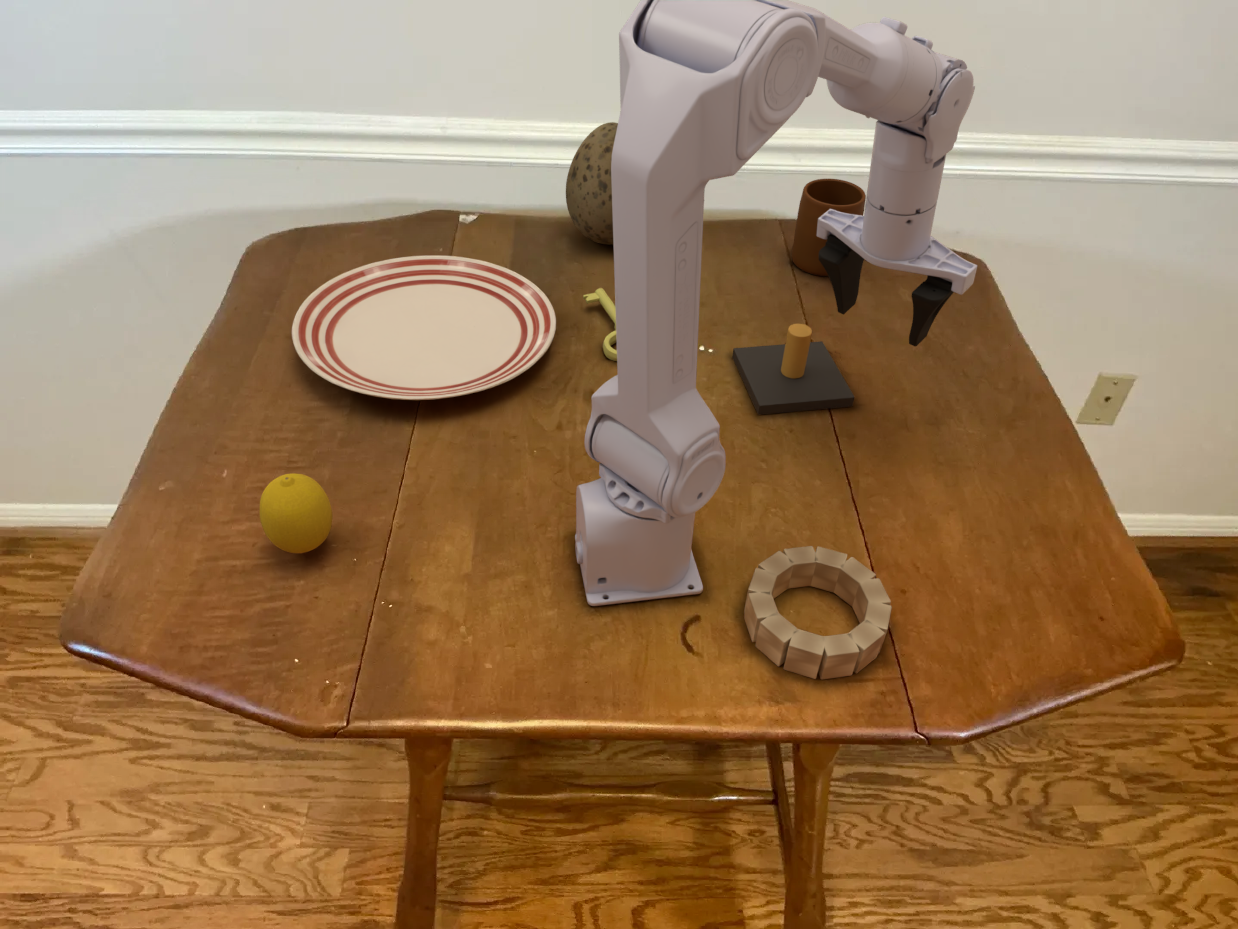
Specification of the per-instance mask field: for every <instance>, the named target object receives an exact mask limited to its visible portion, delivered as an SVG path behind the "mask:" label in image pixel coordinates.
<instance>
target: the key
mask: <svg viewBox="0 0 1238 929" xmlns="http://www.w3.org/2000/svg"><path fill="white" fill-rule="evenodd" d="M582 296H583V297H582V299H583V300H585V303H586V305H587V304H592V303H593V304H594V303H597V302H598V303H600V305H601V307H602V308H603V309H604V310H605V312H606V314H607V315H608V316H609V318H610V319H611V320H612V322H613V323H614V330H613V331H611V332H610V333H608V334H607V335H606V336H605V338H604V340H603V343H602V350H603V351H602V352H603V354H604V355H605V357H606V358H607V359H609V360H610V361H613V362H617V349H615V348H613V347H612V345H614V344H617V339H616V307H615V302H613V300H612V298H610V296H609V295H608V294H607V292H606V291H605V289H604V288H602V287H599V288H597V289H596V290H595V291H594V292H591V293H587V294H583V295H582Z"/></svg>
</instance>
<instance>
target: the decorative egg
mask: <svg viewBox="0 0 1238 929" xmlns="http://www.w3.org/2000/svg"><path fill="white" fill-rule="evenodd" d="M617 126H618V122H615V121H611V122H605V123H603V124H600V125H599V126H597V127H596V128H594V130H592V131H591V132H590V133H589V134H588V135H586V137H585V138H584V140H582V142H581V143H580V145H579V146H578V148H577V150H576V152H575V154H574V156H573V158H572V161H571V163H570V166H569V169H568V172H567V177H566V181H565V202H566V207H567V211H568V214H569V217H570V218H571V222H573V224H574V226H575V227H576V229H577V230H578V231H579V232H580V233H581V234H582V235H583V236H585V237H586V238H587V239H588V240H591V241H592V242H594V243H597V244H603V245H614V244H613V212H612V181H611V161H612V151H613V145H614V141H615V136H616V131H617Z"/></svg>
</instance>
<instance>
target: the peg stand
mask: <svg viewBox="0 0 1238 929" xmlns="http://www.w3.org/2000/svg"><path fill="white" fill-rule="evenodd" d="M812 334H813V330H812V328H811V327H810V326H809V325H807V324H804V323H793V324H791V325H789V326H788V328H787V333H786V339H785V343H784V344H771V345H770V344H769V345H758V346H745V347H744V346H743V347H733V349H732V355H731V356H732V360H733V362H734V364H735V367H736V369H737V371H738V373H739V375H740V378H741V380H742V382H743V385H744V386H745V389H746V391H747V393H748V396H749V398H750V401H751V403H752V405H753V406H754V409H755V411H756V412H757V415H759V416H760V415H771V414H784V413H793V412H804V411H815V410H817V411H818V410H826V409H827V410H828V409H838V408H839V409H840V408H851V407H853V406H854V402H855V399H856V397H855V395H854V393H853V391H852V390H851V388H850V387H849V385H848V383H847V382H846V380H845V378H844V376H843V375H842V373H841V371H840V369H839V368H838V366H837V364H836V363H835V361H834V359H833V357H832V356H831V354H830V351H828V349H827V347H826V345H825V343H824V341H822V340H820V341H812V337H813V336H812Z"/></svg>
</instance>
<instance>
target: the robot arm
mask: <svg viewBox="0 0 1238 929" xmlns="http://www.w3.org/2000/svg"><path fill="white" fill-rule="evenodd" d="M907 31H908V25H907V23H904V22H903V21H901V20H897V19H894V18H891V17H887V16H882V17H881V19H880V21H879V22H876V21H875V22H874V21H872V22H871V21H870V22H864V23H861V24H858V25H856V26H854V27H852V28H849V27H847V26H845V25H843V23H840V22H838V21H837V20H835V19H834V18H832V17H830V16H828V15H827V14H825V13H824V12H822V11H820V10H818V9H817V8H815V7H812V6H809V5H806V4H802V3H798V2H795V1H792V0H640V1H639V2H638V3H637V5H636V6H635V8H634V10H633V11H632V12H631V14H630V16H629V17H628V19H627V20H626V22H625V23H624V25H623V26H622V27H621V29H620V30H619V33H618V52H619V54H618V56H619V58H618V59H619V60H618V61H619V94H620V96H619V98H620V99H619V100H620V111H619V116H618V121H617V123H618V126H617V131H616V136H615V141H614V145H613V151H612V161H611V181H612V212H613V244H612V245H613V270H614V271H613V272H614V305H615V307H616V339H617V342H616V350H617V361H616V365H617V366H616V368H617V370H616V371H617V374H616V375H614V376H612V377H611V378H609V379H608V380H607V381H605V382H604V383H603V384H601V386H600V387H598V388H597V390H596V391H594V393H593V394H592V395H591V413H590V417H589V419H588V422H587V425H586V428H585V433H584V439H583V440H584V449H585V453H586V454H587V455H588V456H589V458H590V459H592V460H593V461H595V462H597V463H598V464H599V465H598V476H599V478H597V479H595V480H592V481H589V482H585V483H582V484H578V485H576V490H575V491H576V493H575V535H574V540H575V544H574V546H575V556H576V558H575V559H576V562H577V564H578V565H580V572H581V576H582V581H583V587H584V591H585V596H586V602H587V604H588V605H589V606H592V607H598V606H606V605H607V606H608V605H615V604H622V603H632V602H640V601H648V600H649V601H650V600H658V599H666V598H676V597H683V596H691V595H699V594H702V592H704V585H703V582H702V579H701V575H700V572H699V569H698V566H697V562H696V560H695V557H694V553H693V549H692V546H693V545H692V544H693V536H694V528H695V520H696V512H698V511H700V509H702V508H703V507H705V505H706V504H707V503H709V501H710V500H711V499H712V498H713V496H714V495H715V494H716V492H717V491H718V489H719V487H720V485H721V483H722V482H723V479H724V476H725V473H726V466H727V465H726V460H727V457H726V456H727V455H726V450H725V448H724V447H723V445H722V443H721V440H720V429H721V425H720V423H719V421H718V420H717V418H716V417H715V415H714V413H713V412H712V410H711V409H710V407H709V406H708V405H707V403H706V402H705V400H704V398H703V396H702V395H701V394H700V393H699V391H698V389H697V371H698V370H697V369H698V366H697V365H698V348H699V323H700V301H701V300H700V299H701V280H702V256H703V255H702V254H703V237H704V236H703V233H704V214H705V213H704V211H705V210H704V209H705V189H706V186H707V184H708V183H709V181H712V180H717V179H722V178H727V177H733V176H735V175H736V174H737V173H738V172H739V171H740V170H741V169H742V168H743V167H744V166H745V165H746V164H747V163H748V162H749V160H750V159H751V158H752V157H753V156H755V154H757V153H758V151H760V149H761V148H762V147H763V146H764V145H765V144H766V143H767V142H768V141H769V140H770V139H771V138H772V137H773V136H774V135H775V134H776V133H777V132H778V131H779V130H780V129H781V128H782V127H783V126H784V125H785V124H786V123H787V122H788V121H789V119H790V118H791V117H792V116H794V114H795V113H796V112H797V111H798V109H800V107H801V105H802V104H803V103H804V101H805V99H806V98H808V97H810V96H811V95H812V94H813V92H814V89H815V86H816V85H817V81H818V78H821V79H823V80H826V85H827V89H828V92H829V94H830V96H831V98H832V99H833V100H834V102H835V103H836V104H837V105H839V106H840V107H841V108H843V109H846V110H848V111H849V112H854V113H857V114H859V115H862V116H865V118H867V119H873V120H877V121H875V128H874V135H873V142H872V151H871V158H870V166H869V175H868V182H867V190H866V200H865V207H864V214H863V216H861V215H854V214H848V213H843V212H839V211H836V210H833V209H829V210H828V211H827V212H826V213H824V214H823V215H822V216H821V217H819V218H818V224H817V237H820V238H822V239H827V242H826V244H825V246H824V247H823V248H822V249H821V250H820V251H819V261H820V262H821V264H822V265H823V267H824V268H825V270H826V272H827V274H828V276H827V277H828V278H829V281H830V284H831V287H832V290H833V294H834V298H835V303H836V308H837V313H839V314H841V315H845V314H846V313H847V312H848V311H850V309H852V308H853V307H854V306H855V305H856V304H857V300H858V296H859V290H860V281H861V273H862V270H863V269H862V268H863V265H864V261H866V262H867V263H869V264H871V265H873V266H876V267H878V268H881V269H882V268H883V269H887V270H893V271H898V272H899V271H900V272H905V273H912V274H918V275H923V276H926V279H925V280H923V281H922V282H921V283H920V284H919V285H918V286H917V287H916V288H915V289H914V290H913V291H912V292H911V302H912V322H911V326H910V330H909V336H908V344H909V345H911V346H913V347H918V346H919V345H920V344H921V342H923V341H924V339H926V338H927V337H928V334H929V332H930V329H931V327H932V325H933V323H934V321H935V319H936V317H937V316H938V314H939V312H940V311H941V309H942V308H943V307H944V305H945V304H946V303H947V301H948V300H949V299H950V298H951V296H952V295H953V294H954V293H956V294H958V295H959V296H960V295H961V296H962V295H964V294H965V293H966V292H967V291H968V290H969V289H970V287H972V286H973V285H974V282H975V278H976V275H977V274H976V273H977V270H978V264H975V263H974V262H970V261H969V260H966V259H964V258H963V257H961V256H960V255H958V254H957V253H955V252H954V251H953V250H952V249H950V248H949V247H947V246H946V245H945V244H943V243H942V242H941V241H939V239H937V238H935V237H934V236H932V231H933V225H934V219H935V214H936V210H937V203H938V200H939V195H940V189H941V185H942V180H943V179H942V178H943V175H944V174H943V173H944V168H945V163H946V158H947V154H948V153H950V152H951V151H952V150H953V149H954V147H955V143H956V142H957V141H958V140H957V139H958V134H959V130H960V127H961V124H962V121H963V120H964V118H965V116H966V114H967V112H968V110H969V107H970V105H971V103H972V99H973V97H974V93H975V89H976V85H974V75H973V73H972V71H971V70H969V69H968V66H967V63H966V62H965V61H964V60H963V59H959V58H957V57H953V56H951V55H946V54H944V53H940V52H936V51H934V50H933V49H932V48H933V46H934V43H933V41H932V40H931V39H929V38H925V37H923V36H919V35H913V36H912V37H909V36H907V35H905V34H906V32H907Z"/></svg>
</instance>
